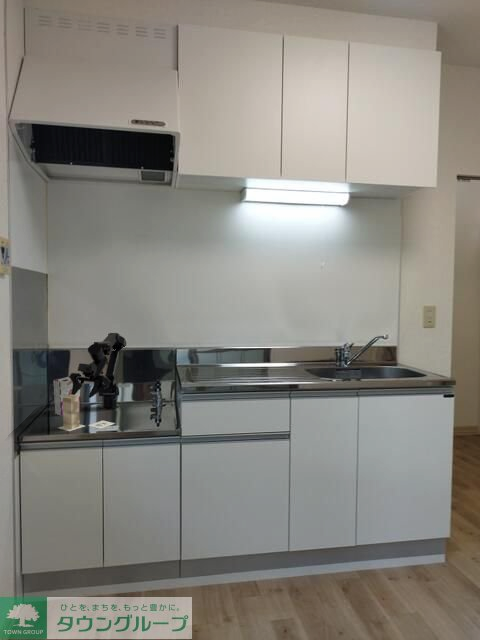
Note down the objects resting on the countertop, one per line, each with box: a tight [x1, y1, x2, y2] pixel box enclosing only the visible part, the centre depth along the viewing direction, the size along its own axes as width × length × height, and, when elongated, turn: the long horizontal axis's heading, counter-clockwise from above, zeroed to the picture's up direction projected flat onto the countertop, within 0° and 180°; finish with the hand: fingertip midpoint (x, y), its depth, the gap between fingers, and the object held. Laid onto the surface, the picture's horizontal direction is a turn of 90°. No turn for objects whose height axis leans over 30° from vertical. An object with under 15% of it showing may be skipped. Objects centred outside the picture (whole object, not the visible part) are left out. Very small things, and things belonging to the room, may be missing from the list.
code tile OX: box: [88, 420, 116, 430], centre depth 194 cm, size 8×8×1 cm
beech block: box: [62, 395, 81, 429], centre depth 190 cm, size 4×4×13 cm
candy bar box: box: [53, 376, 82, 417], centre depth 211 cm, size 11×5×16 cm, turn 148°
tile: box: [57, 424, 85, 432], centre depth 190 cm, size 8×8×1 cm
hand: (80, 396), depth 195 cm, fingers open, 9 cm apart
